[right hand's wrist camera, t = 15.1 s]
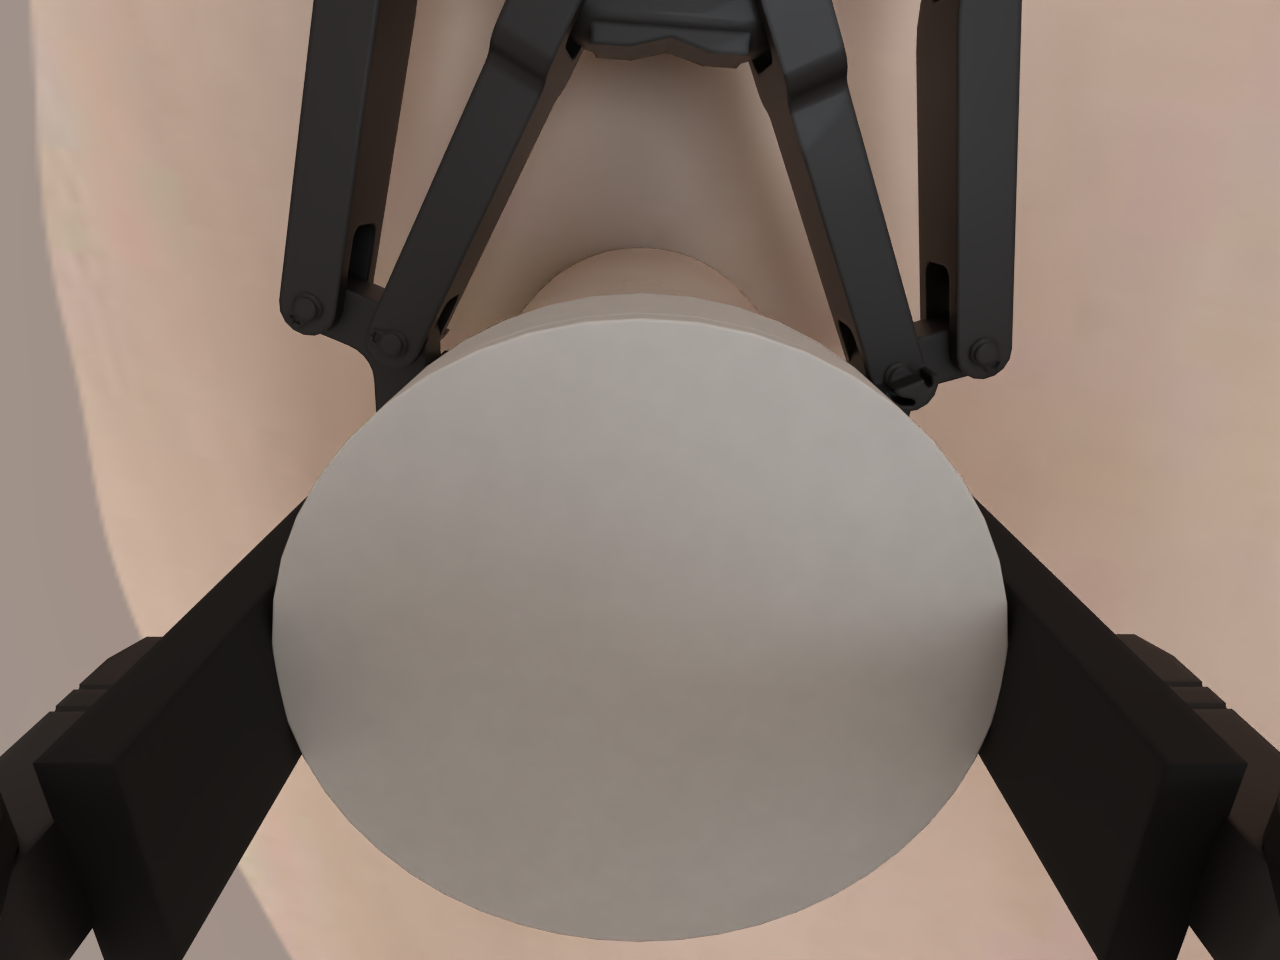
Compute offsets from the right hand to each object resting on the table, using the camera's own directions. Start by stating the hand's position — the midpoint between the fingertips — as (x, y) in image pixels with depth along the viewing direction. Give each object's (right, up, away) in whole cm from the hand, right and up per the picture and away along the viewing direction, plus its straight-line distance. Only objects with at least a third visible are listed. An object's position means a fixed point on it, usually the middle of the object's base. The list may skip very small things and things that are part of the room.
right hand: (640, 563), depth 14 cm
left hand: (0, -2, +7) cm, 8 cm away
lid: (0, -1, -3) cm, 3 cm away
